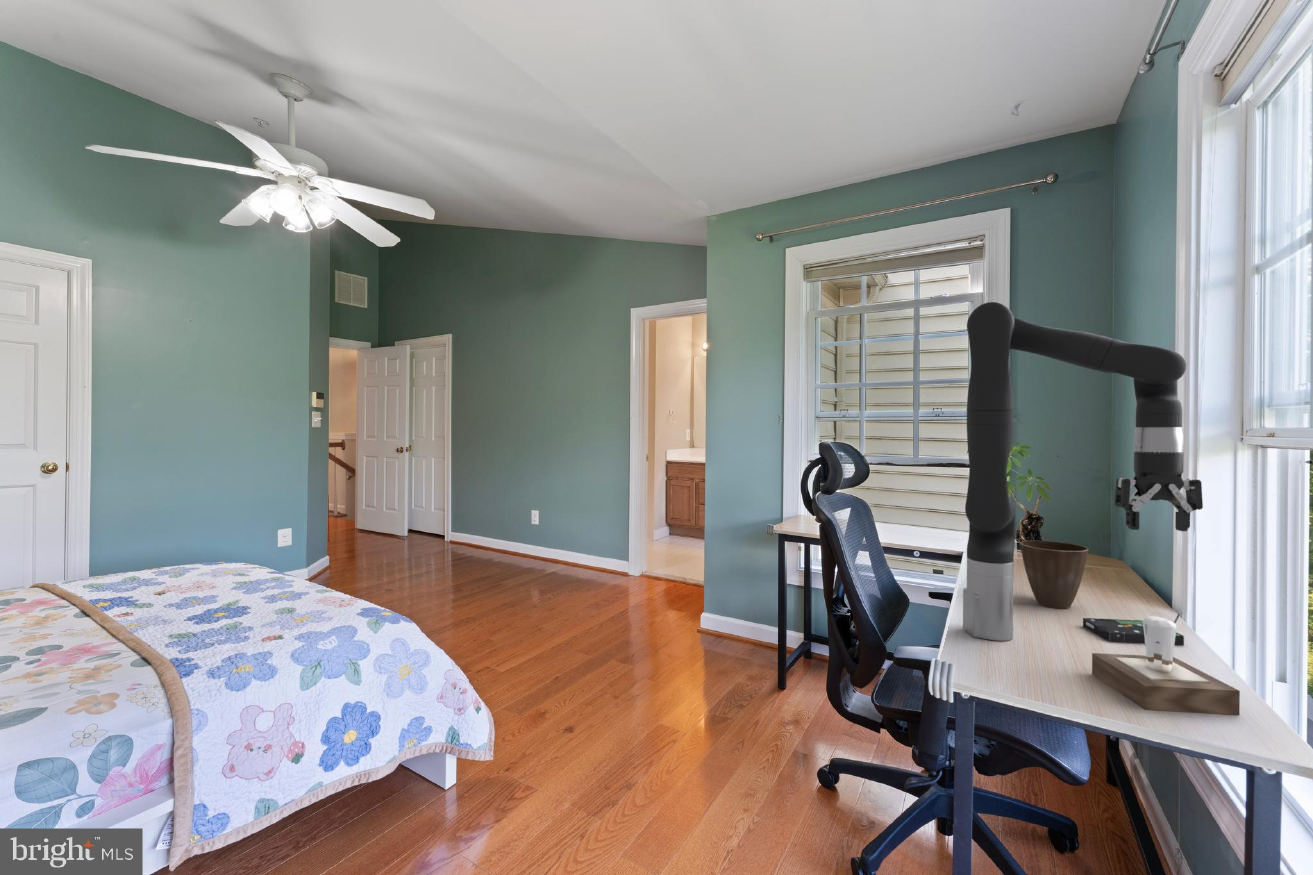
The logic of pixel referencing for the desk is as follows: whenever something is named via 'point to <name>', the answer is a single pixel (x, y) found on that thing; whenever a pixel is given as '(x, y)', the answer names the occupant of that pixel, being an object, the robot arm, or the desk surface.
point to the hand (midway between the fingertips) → (1157, 530)
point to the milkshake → (1159, 642)
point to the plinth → (1166, 685)
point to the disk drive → (1121, 630)
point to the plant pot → (1054, 571)
